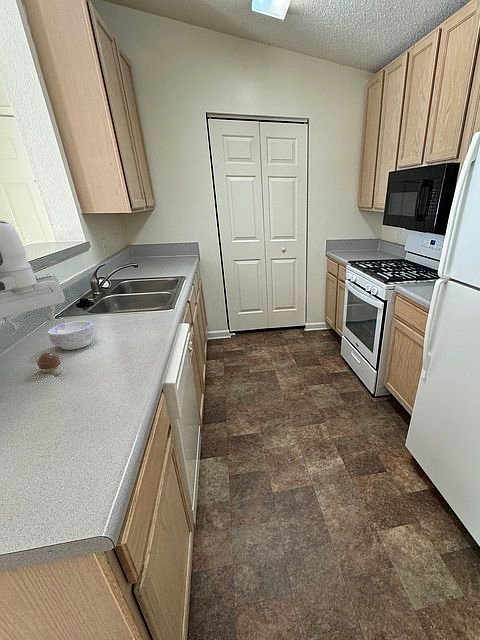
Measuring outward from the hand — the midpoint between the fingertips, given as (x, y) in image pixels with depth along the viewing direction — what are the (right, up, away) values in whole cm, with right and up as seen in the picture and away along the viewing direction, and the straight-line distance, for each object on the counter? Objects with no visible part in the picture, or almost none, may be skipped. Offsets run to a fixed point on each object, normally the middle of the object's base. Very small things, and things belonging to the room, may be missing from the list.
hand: (35, 324), depth 102 cm
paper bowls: (-7, -5, +29) cm, 30 cm away
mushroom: (0, -16, +8) cm, 18 cm away
